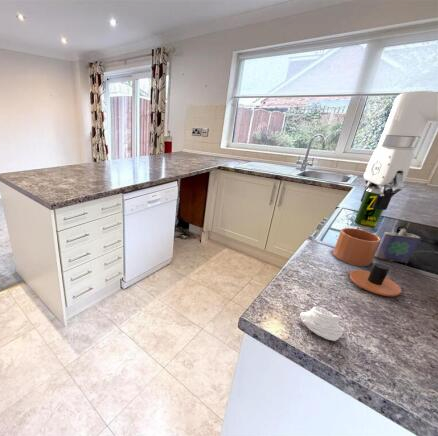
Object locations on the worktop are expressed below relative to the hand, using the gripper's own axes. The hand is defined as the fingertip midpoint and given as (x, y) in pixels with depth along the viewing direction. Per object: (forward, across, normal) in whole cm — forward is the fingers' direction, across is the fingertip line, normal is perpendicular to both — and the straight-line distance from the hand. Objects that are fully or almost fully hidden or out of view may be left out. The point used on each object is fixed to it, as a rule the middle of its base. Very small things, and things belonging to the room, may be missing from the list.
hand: (372, 205), depth 73 cm
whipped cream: (+19, +35, -22) cm, 45 cm away
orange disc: (+18, +15, -2) cm, 23 cm away
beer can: (+7, 0, 0) cm, 7 cm away
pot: (+18, 0, 0) cm, 18 cm away
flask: (+19, -2, +12) cm, 22 cm away
